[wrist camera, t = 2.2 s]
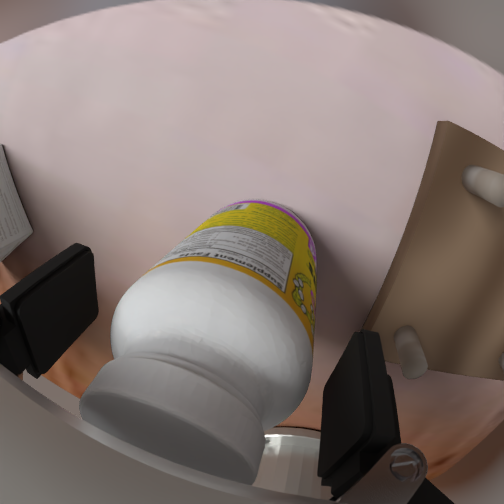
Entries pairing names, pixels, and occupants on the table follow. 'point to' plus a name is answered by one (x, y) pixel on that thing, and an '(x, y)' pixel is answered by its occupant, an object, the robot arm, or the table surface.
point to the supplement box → (10, 212)
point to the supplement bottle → (213, 343)
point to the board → (449, 265)
